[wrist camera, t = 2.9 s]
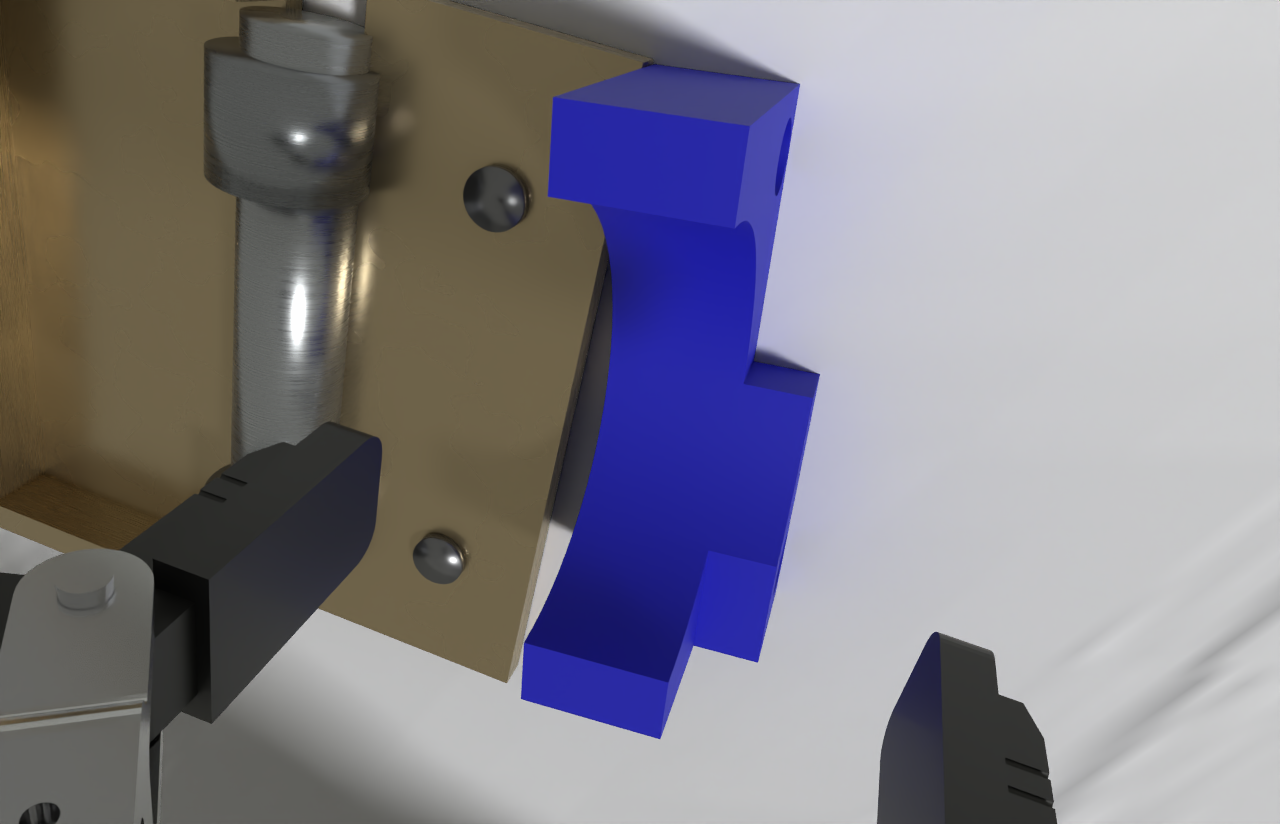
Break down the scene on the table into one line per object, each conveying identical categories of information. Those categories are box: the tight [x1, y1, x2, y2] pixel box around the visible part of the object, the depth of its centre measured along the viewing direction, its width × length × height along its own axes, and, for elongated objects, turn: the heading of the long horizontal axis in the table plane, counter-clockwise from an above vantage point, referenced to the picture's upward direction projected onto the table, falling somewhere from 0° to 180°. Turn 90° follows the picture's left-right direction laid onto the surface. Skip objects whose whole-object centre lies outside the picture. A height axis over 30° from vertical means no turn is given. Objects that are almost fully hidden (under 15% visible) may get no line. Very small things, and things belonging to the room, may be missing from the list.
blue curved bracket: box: [521, 64, 820, 739], centre depth 19 cm, size 12×4×6 cm, turn 174°
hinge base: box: [0, 0, 653, 683], centre depth 23 cm, size 16×17×3 cm
